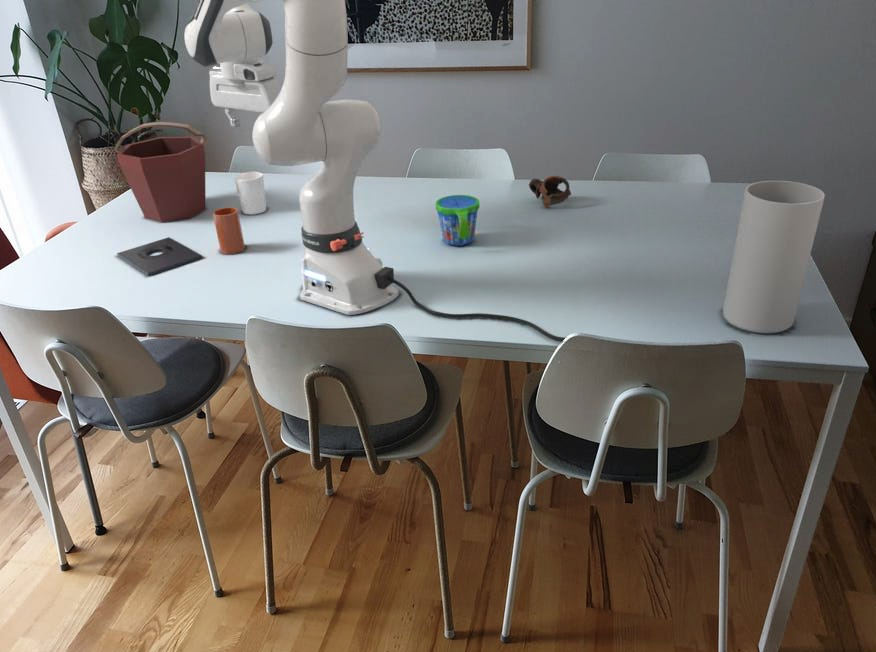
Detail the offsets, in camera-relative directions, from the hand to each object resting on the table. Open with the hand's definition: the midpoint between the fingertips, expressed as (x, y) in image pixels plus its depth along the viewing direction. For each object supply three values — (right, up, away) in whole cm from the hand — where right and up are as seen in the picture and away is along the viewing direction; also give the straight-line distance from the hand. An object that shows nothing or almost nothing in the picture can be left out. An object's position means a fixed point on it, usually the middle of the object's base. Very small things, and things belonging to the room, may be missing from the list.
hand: (249, 128), depth 179 cm
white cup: (-5, -14, +30) cm, 33 cm away
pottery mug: (+77, -13, +23) cm, 82 cm away
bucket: (-29, -14, +32) cm, 45 cm away
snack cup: (+51, -27, +3) cm, 58 cm away
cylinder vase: (+106, -49, -38) cm, 123 cm away
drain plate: (-23, -31, +4) cm, 39 cm away
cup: (-6, -29, +5) cm, 30 cm away
